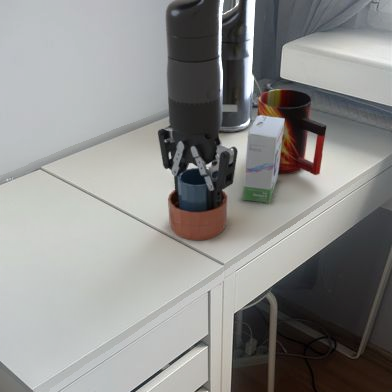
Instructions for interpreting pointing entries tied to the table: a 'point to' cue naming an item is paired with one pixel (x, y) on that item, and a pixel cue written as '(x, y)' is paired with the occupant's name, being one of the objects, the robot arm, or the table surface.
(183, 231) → the bowl
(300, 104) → the mug
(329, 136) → the table surface
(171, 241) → the table surface
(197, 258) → the table surface
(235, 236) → the table surface
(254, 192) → the ink box
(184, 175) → the cup
